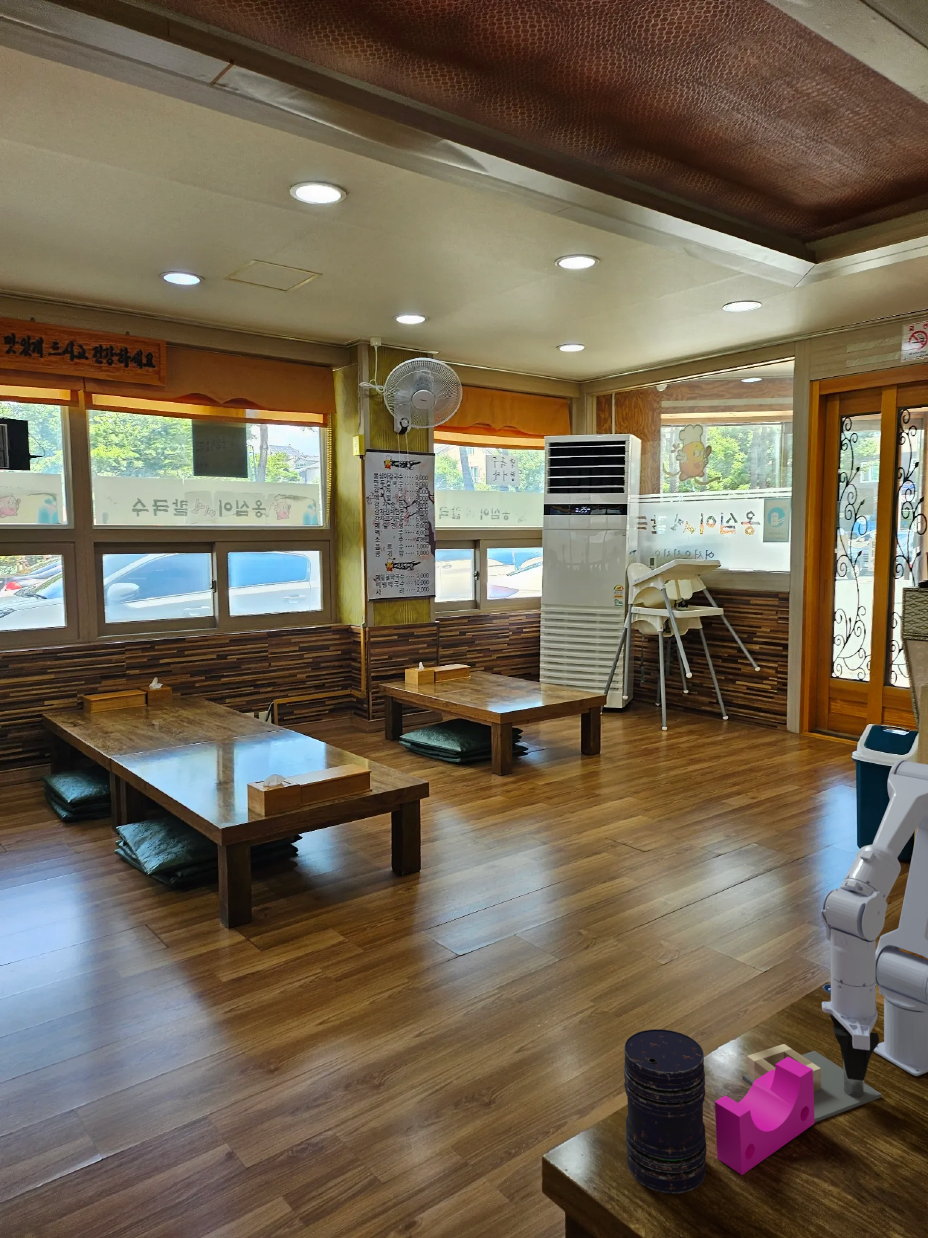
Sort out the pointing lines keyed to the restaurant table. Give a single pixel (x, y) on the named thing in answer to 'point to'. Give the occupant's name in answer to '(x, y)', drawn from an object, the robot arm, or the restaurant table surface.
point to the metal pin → (853, 1086)
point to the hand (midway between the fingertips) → (853, 1072)
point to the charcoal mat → (832, 1089)
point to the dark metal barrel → (665, 1110)
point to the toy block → (765, 1115)
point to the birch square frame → (770, 1057)
